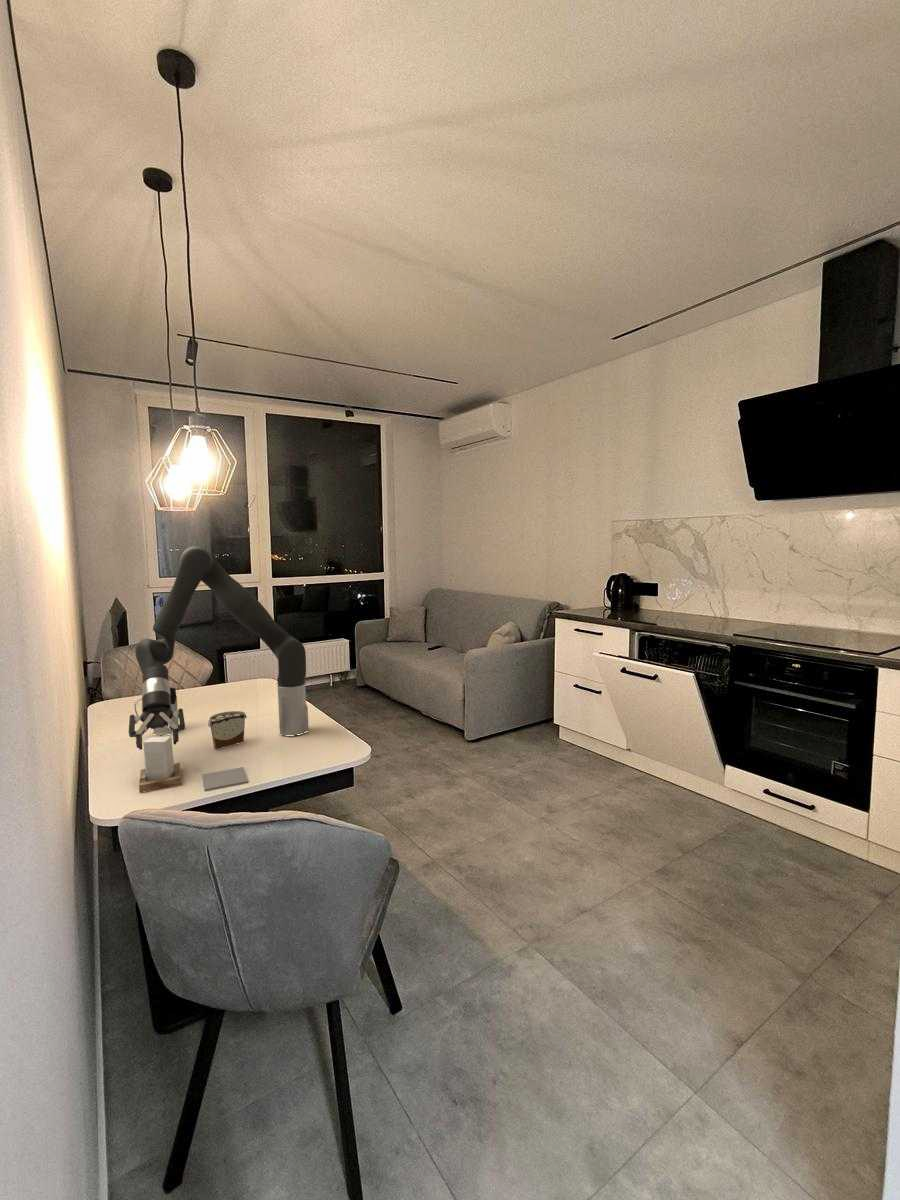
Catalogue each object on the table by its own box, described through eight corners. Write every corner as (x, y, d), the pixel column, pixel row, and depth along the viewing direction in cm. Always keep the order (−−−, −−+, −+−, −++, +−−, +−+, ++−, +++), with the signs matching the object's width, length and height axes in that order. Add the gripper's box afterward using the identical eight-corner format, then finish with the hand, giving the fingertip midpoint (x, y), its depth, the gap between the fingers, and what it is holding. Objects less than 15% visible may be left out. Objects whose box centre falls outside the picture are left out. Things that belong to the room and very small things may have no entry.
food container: (240, 736, 189) (238, 708, 188) (248, 741, 185) (246, 712, 184) (203, 746, 181) (201, 716, 180) (210, 751, 176) (208, 720, 175)
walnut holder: (180, 769, 162) (179, 761, 162) (181, 784, 152) (180, 776, 151) (141, 776, 158) (140, 767, 157) (139, 792, 147) (138, 783, 147)
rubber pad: (243, 768, 162) (243, 766, 162) (248, 782, 152) (248, 780, 152) (202, 776, 157) (202, 774, 157) (204, 791, 147) (204, 789, 147)
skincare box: (175, 776, 157) (172, 736, 156) (168, 783, 153) (165, 741, 151) (153, 777, 157) (150, 736, 155) (145, 784, 152) (142, 742, 151)
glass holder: (184, 731, 196) (182, 689, 194) (142, 742, 185) (139, 698, 183) (173, 726, 201) (170, 685, 200) (131, 736, 190) (128, 694, 189)
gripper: (127, 692, 159) (127, 744, 150) (182, 686, 165) (185, 735, 156) (130, 706, 164) (130, 756, 155) (183, 699, 171) (186, 747, 162)
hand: (158, 745), depth 156 cm, fingers open, 8 cm apart
